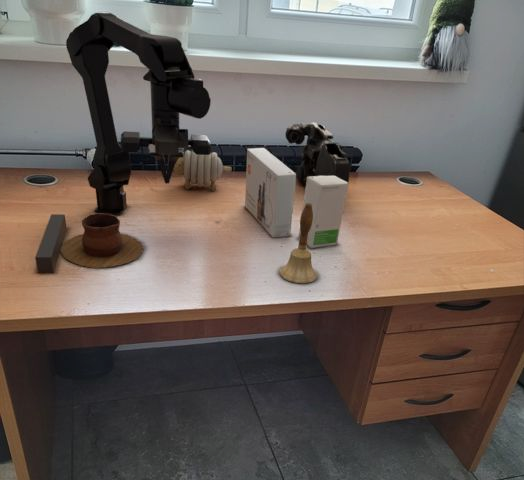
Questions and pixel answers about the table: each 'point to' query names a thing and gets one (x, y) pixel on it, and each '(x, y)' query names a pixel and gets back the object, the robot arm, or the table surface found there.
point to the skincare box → (269, 191)
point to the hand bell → (301, 254)
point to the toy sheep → (200, 169)
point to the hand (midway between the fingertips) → (167, 182)
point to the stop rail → (51, 244)
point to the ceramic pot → (101, 243)
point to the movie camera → (318, 152)
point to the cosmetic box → (325, 209)
